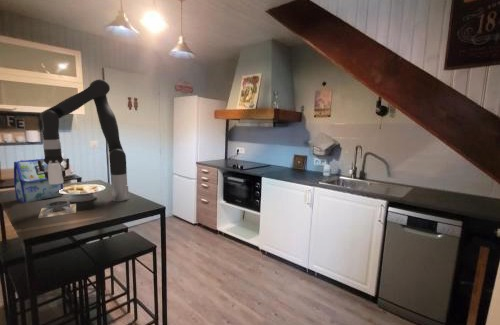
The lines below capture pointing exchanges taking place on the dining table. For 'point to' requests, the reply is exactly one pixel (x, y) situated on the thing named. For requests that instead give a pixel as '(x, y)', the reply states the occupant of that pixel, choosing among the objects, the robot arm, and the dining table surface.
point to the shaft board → (57, 211)
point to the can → (55, 174)
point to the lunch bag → (33, 182)
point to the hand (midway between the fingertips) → (55, 177)
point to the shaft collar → (57, 207)
